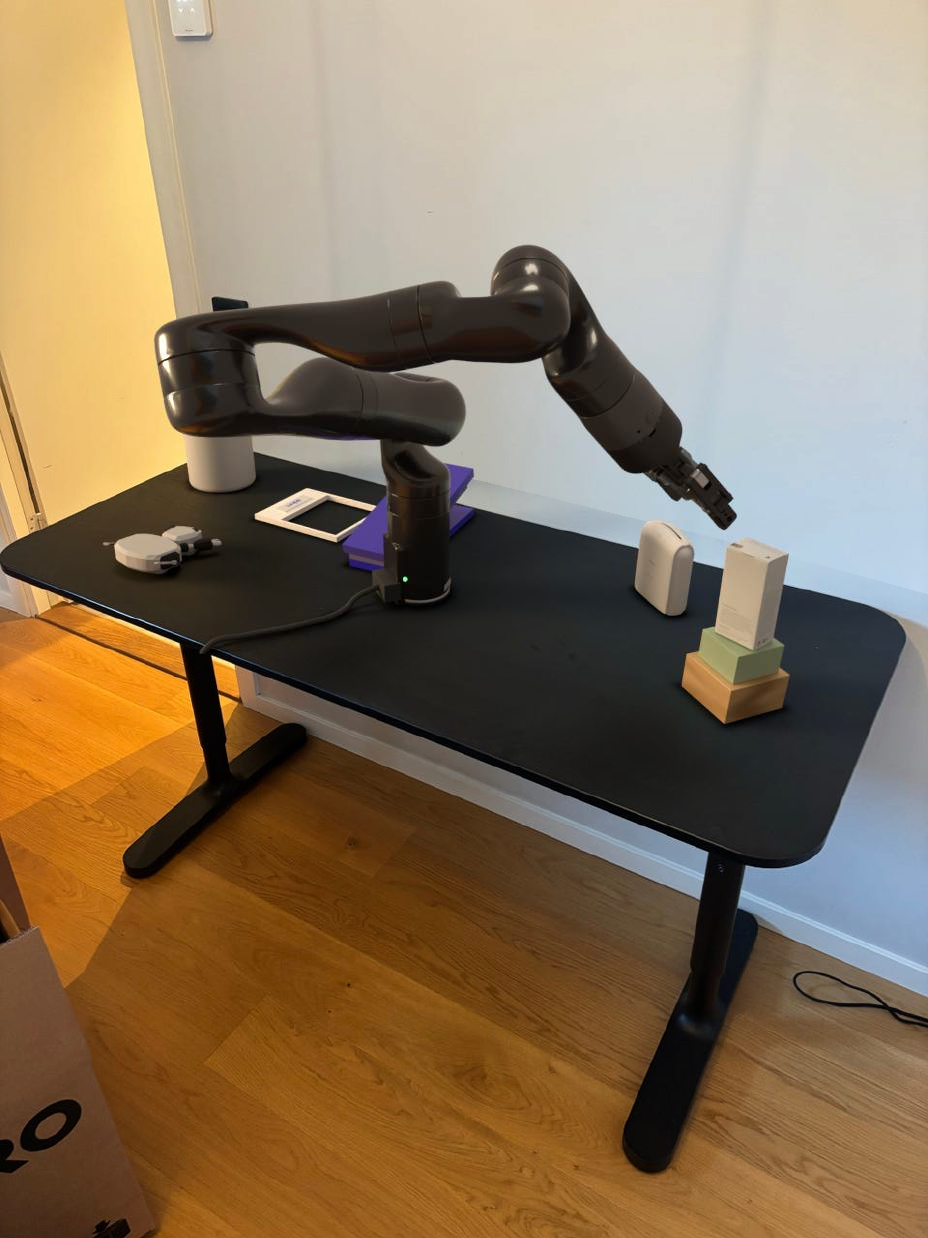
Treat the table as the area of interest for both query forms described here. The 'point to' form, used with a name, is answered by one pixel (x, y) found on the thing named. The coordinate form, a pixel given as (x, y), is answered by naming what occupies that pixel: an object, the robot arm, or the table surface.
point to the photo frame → (302, 503)
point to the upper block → (739, 657)
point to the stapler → (369, 534)
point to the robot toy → (161, 548)
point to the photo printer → (664, 567)
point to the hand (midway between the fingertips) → (704, 508)
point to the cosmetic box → (751, 592)
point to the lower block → (733, 691)
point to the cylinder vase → (220, 463)
